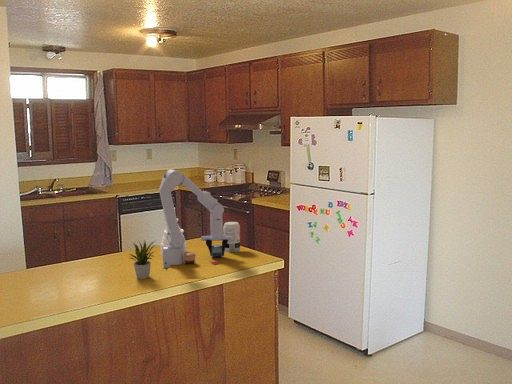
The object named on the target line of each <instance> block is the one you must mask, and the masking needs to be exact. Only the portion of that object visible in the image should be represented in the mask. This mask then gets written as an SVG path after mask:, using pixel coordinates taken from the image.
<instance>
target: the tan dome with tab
mask: <svg viewBox="0 0 512 384" xmlns="http://www.w3.org/2000/svg"><path fill="white" fill-rule="evenodd" d="M189 263H193V265H196V263H197V261H196V253H195V252H184V263H183V265H186V264H189Z"/></svg>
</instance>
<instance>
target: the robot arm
mask: <svg viewBox="0 0 512 384" xmlns="http://www.w3.org/2000/svg"><path fill="white" fill-rule="evenodd" d="M179 185H180V186H182V187H186V188H187V189H188V190H190V192H192V193H193V194H194V195H196V197H197V202H199V203H200V204H201V205H202V206H204V207H205V209H207V210H208V211H209V212H210V213H209V215H210V216H209V217H210V219H209V220H210V225H209V227H210V235H202V236H201V237H200V239H201V242H204V241H205V245H206V247H207V248H208V251H209V255H210V257H212V246H213V241H214V242H216V241H217V242H219V241H221V245H222V256H223V257H224V256H225V252H224V251H225V247H226V245H227V242H228V241H232V236H224V229H223V226H224V224H223V221H224V219H223V214H224V211H225V209H224V206H223V204H221V203H220V202H219V201H218V199H217V198H214V197H213V196H212V195H211V194H212V193H211V192H209V191H207V190H201V188H199V187H198V186H197V185H196V184H195V183H194V182H193V181H192V180H191V179H190V178H189V177H187V176H186V175H184V174H183V173H182V172H181V171H179V170H176V169H174V168H169V169H167V170H166V172H165V173H164V174H163V175H162V179H161V182H160V185H159V188H158V192H159V197H160V201H161V206H162V210H163V214H164V217H165V222H166V228H167V240H168V242H169V244H168V247H164V248H163V256H162V265H163V266H162V268H163V269H165V268H166V269H169V268H170V267H171V265H174V266H176V265H177V266H178V265H182V264H183V265H184V254H185V252H184V245H183V244H184V242H185V241H186V238H185V236H184V237H183V236H182V235H181V231H180V229H179V227H180V225H179V224H178V222H179V221H178V222H177V214H176V211H175V210H176V209H175V206H174V201H173V197H172V192H173V191H174V189H175V188H176V187H178V186H179ZM178 225H179V226H178ZM184 238H185V239H184Z"/></svg>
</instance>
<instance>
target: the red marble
mask: <svg viewBox="0 0 512 384" xmlns="http://www.w3.org/2000/svg"><path fill="white" fill-rule="evenodd" d="M218 264H219V262H218V260H215V259H214V260H212V261H211V265H218Z"/></svg>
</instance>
